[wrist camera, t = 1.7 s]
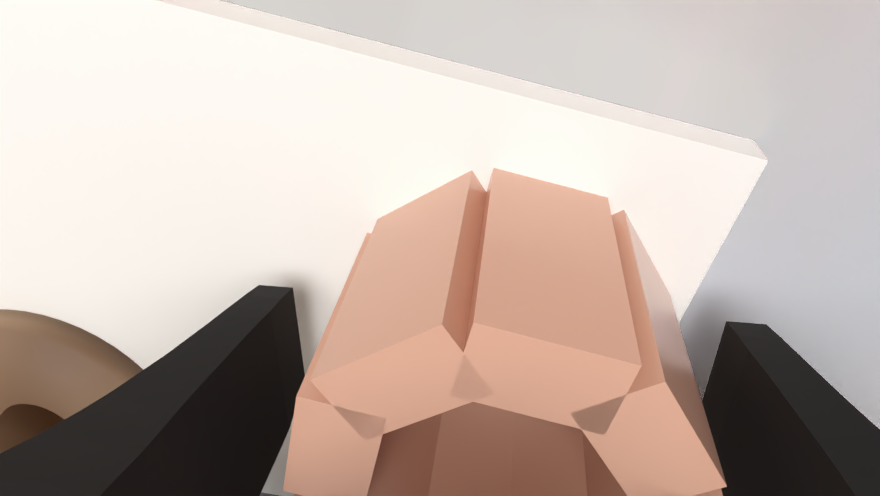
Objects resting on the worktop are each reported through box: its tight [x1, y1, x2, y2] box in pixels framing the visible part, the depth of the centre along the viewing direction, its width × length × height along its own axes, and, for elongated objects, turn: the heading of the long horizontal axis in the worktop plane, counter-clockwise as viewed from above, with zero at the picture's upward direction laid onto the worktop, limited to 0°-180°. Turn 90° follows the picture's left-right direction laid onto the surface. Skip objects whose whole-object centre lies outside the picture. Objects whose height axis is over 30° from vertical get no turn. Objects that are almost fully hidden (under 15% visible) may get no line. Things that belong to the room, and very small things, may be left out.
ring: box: [283, 168, 727, 496], centre depth 10 cm, size 6×6×4 cm
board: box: [0, 0, 768, 496], centre depth 14 cm, size 15×16×1 cm
